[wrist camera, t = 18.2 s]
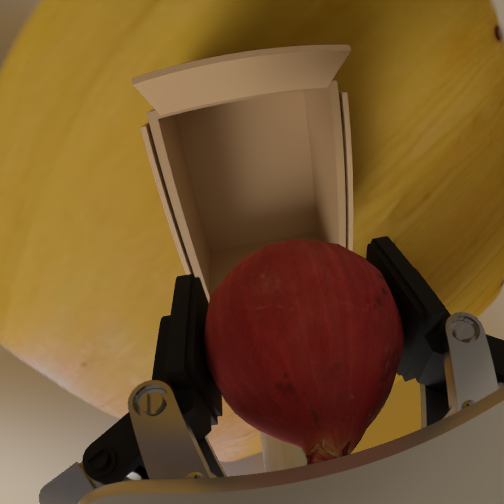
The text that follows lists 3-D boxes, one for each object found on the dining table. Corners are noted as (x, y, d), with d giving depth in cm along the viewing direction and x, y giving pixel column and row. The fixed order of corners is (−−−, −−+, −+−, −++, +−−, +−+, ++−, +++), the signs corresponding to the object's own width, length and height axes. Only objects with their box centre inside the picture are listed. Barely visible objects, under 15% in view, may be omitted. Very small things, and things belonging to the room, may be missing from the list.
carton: (327, 233, 26) (352, 274, 21) (200, 257, 26) (197, 304, 21) (314, 78, 18) (346, 80, 13) (158, 105, 18) (136, 115, 13)
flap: (351, 50, 9) (349, 44, 9) (132, 84, 9) (132, 78, 9) (327, 87, 13) (325, 82, 13) (160, 115, 13) (159, 110, 13)
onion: (351, 183, 10) (503, 367, 3) (350, 301, 13) (418, 460, 7) (188, 215, 10) (159, 461, 4) (225, 327, 13) (239, 505, 7)
